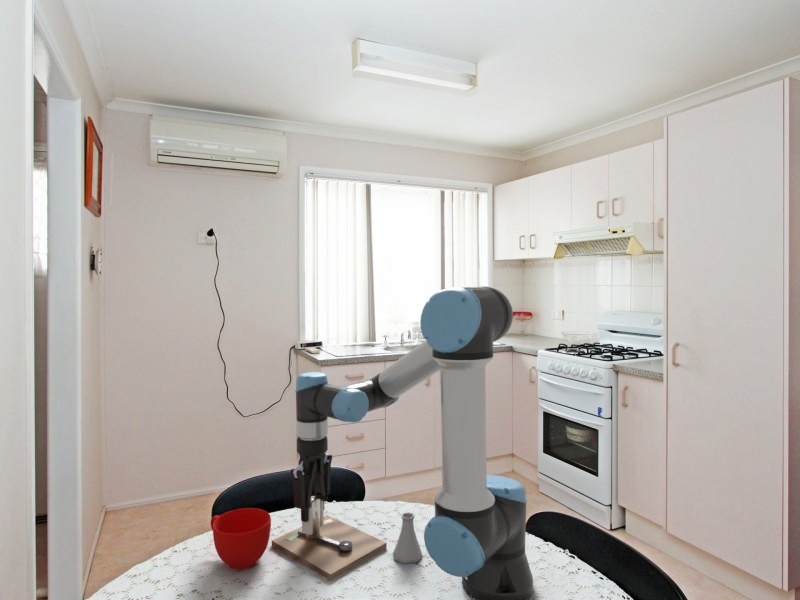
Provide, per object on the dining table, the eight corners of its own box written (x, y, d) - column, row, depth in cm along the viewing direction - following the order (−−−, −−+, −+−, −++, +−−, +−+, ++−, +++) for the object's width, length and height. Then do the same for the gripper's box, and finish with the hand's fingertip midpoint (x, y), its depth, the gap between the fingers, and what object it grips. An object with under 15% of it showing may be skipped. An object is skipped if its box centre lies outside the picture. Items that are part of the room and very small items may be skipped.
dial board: (386, 548, 127) (386, 542, 127) (330, 581, 114) (330, 573, 114) (327, 520, 142) (327, 514, 142) (271, 546, 128) (271, 539, 128)
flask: (420, 566, 120) (420, 523, 119) (389, 562, 121) (389, 520, 121) (425, 549, 127) (425, 509, 126) (396, 546, 128) (396, 507, 128)
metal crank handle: (355, 547, 124) (355, 507, 124) (346, 554, 121) (346, 513, 121) (304, 530, 133) (303, 492, 132) (294, 536, 130) (294, 497, 129)
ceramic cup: (233, 538, 132) (233, 499, 132) (282, 557, 123) (282, 516, 123) (189, 562, 121) (189, 520, 120) (240, 585, 112) (240, 539, 112)
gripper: (321, 425, 137) (321, 512, 138) (276, 443, 122) (278, 540, 123) (344, 429, 133) (345, 518, 134) (301, 448, 118) (302, 548, 120)
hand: (312, 528), depth 129 cm, fingers closed on metal crank handle, 4 cm apart
